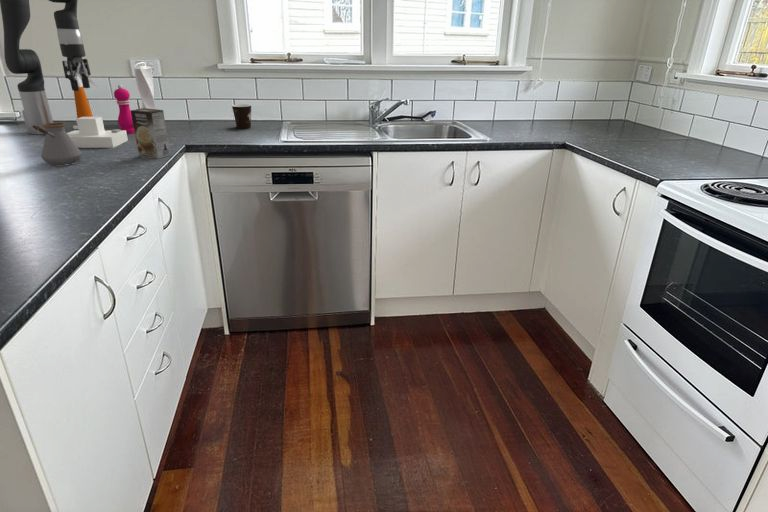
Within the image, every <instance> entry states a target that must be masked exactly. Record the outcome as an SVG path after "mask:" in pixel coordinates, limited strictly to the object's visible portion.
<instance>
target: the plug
mask: <svg viewBox="0 0 768 512" xmlns="http://www.w3.org/2000/svg"><path fill="white" fill-rule="evenodd" d="M75 120H76V125H73V126H72V128H73V129H75V130H79V133H80V135H100V134H102V133H105V130H106V129H105V126H104V121H103V117H102V116H93V117H81V118H78V119H77V118H76V119H75Z"/></svg>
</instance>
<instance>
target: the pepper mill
mask: <svg viewBox="0 0 768 512" xmlns="http://www.w3.org/2000/svg"><path fill="white" fill-rule="evenodd" d="M123 87H124V86H123V85H122V84H118V85H117V89H115V90H114V91H113V96H114V98H115V99H116V105H118V110H119V112H118V113H119V114H118V118H117V124H118V126H119V127H120V130H126V133H127V135H131V134H132V135H133V134H135V132H134V127H133V121H132V116H131V110H132V109H131V108H130V104H131V102H130V100H129V99H130V97H131V96H130V95H131V94H130V92H129V91H128V89H126V88H123Z"/></svg>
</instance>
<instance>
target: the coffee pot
mask: <svg viewBox="0 0 768 512" xmlns="http://www.w3.org/2000/svg"><path fill="white" fill-rule="evenodd" d="M66 125H67V124H66V123H65V122H53V123H49V124H43V125H42V126H43V127H44V128H45V130H44V129H43V128H40V127H39V126H35V125H33V126H32V127H33V128H35V129H36V130H37V131H38V130H39V131H40V132H42V133H45V134H44V135H45V137H44V143H43V148H42V153H41V156H40V157H41V159H42V160H43V161H44V162H45V163H47V164H51V165H50V166H52V165H65V164H72V163H75V162H77V163H78V161H79V160H80V159H81V158H82V152H81V150H80V149H79V148H77V146H76V145H75V143H74V142H73V141H72V139H71V138H70V137H69V135H68V134H67V133H68V132H67V131H66V130H65V129H66V128H65V126H66ZM30 128H31V127H30ZM30 131H31V130H30ZM37 131H36V132H37ZM31 132H32V131H31ZM75 164H76V163H75ZM72 165H73V164H72Z"/></svg>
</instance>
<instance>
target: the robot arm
mask: <svg viewBox="0 0 768 512" xmlns="http://www.w3.org/2000/svg"><path fill="white" fill-rule="evenodd" d="M48 1H49V2H52V3H56V4H57V3H59V4H62V3H63V4H64V8H63V9H59V10H55V11H54V12H53V19H54V22H55V26H56V32H57V33H56V34H57V38H58V44H59V48H60V52H61V55H62V57H64V58H66V60H62V62H61V63H62V68H63V72H64V73H63V74H64V78H65V79H68V80H69V82H70V86H71V90H72V91H73V92H74V91H79V86H78V82H77V75H78V74H80V76H81V77H82V78H80V79H81V82H82V84H83V88H84V89H89V88H91V85H90V84H91V83H90V82H89V80H88V78H90V76H91V75H92V73H91V69H90V65H89V61H88V60H89V59H88V58H84V57H86V55H87V54H86V51H85V46H84V41H83V36H82V33H81V30H80V25H79V22H78V0H48ZM0 13H1V21H2V27H3V29H2V30H3V49H4V50H3V52H4V60H5V66H6V67H7V70H8V71H9V72H10V73H12V74H13V75H14V74H15V75H22V74H24V75H25V74H27V77H26V78H25V79H24V80H23V81H21V82H18V83H17V85H16V86H17V90H18V94H19V97H20V102H21V105H22V108H23V109H22V110H21V113H22V116H23V120H24V124H25V127H26V130H27V134H30V135H31V134H32V135H46V134H45V133H42V132H40V131H39V130H38V131H37V130H36V129H35V128H33V127H32V126H33V125H35V126H39V127H40V128H43V129H44V130H45V128H44V127H43V126H42V125H43V124H49V123H54V119H53V116H52V111H51V109H50V105H49V100H48V97H47V93H46V90H45V89H46V88H45V79H44V74H43V69H42V64H41V60H40V58H39V56H38V53H36V51H35V50H34V49H28V48H24V49H23V48H22V49H21V48H20V41H21V38H22V35H23V33H24V32H25V30H26V28H27V26H28V24H29V22H30V21H31V7H30V0H0ZM82 73H83V74H82ZM30 127H31V128H30ZM30 130H31V131H32V132H31V131H30ZM36 131H37V132H36Z"/></svg>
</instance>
